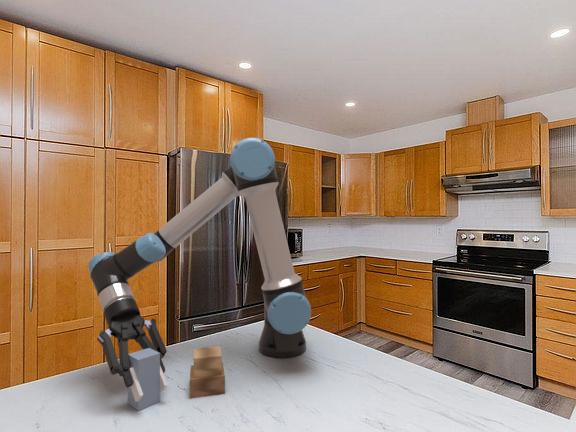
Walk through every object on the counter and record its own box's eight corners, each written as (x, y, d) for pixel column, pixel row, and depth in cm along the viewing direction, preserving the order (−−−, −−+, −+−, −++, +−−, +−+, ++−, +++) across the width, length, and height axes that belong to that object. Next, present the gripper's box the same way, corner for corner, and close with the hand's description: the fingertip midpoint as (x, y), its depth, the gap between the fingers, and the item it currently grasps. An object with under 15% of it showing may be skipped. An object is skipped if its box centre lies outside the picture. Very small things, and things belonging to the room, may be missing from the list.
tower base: (222, 379, 88) (222, 362, 88) (224, 394, 80) (224, 375, 80) (190, 383, 86) (190, 365, 86) (189, 399, 78) (189, 379, 78)
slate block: (149, 394, 80) (149, 347, 80) (159, 401, 77) (159, 353, 77) (127, 403, 76) (127, 354, 76) (138, 411, 73) (138, 360, 73)
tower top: (220, 363, 87) (220, 346, 87) (221, 374, 81) (221, 355, 81) (194, 366, 85) (194, 348, 85) (193, 378, 79) (193, 358, 79)
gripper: (148, 307, 93) (181, 386, 82) (75, 322, 80) (103, 419, 69) (158, 290, 90) (194, 370, 79) (83, 304, 76) (114, 402, 65)
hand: (152, 393), depth 74 cm, fingers closed on slate block, 5 cm apart
